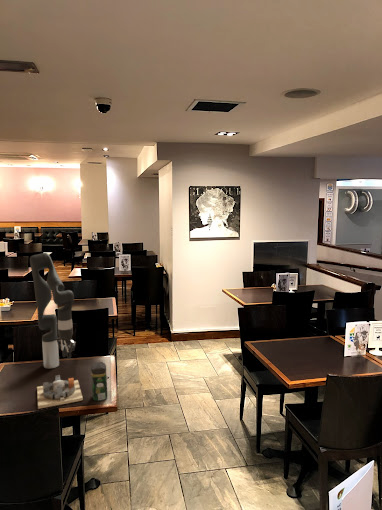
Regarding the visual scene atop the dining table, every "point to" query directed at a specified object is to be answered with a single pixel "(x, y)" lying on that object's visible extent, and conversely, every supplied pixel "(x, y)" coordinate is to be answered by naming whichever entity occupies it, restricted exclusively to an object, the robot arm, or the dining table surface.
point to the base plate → (73, 397)
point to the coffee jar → (99, 381)
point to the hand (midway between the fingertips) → (67, 357)
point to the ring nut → (58, 389)
